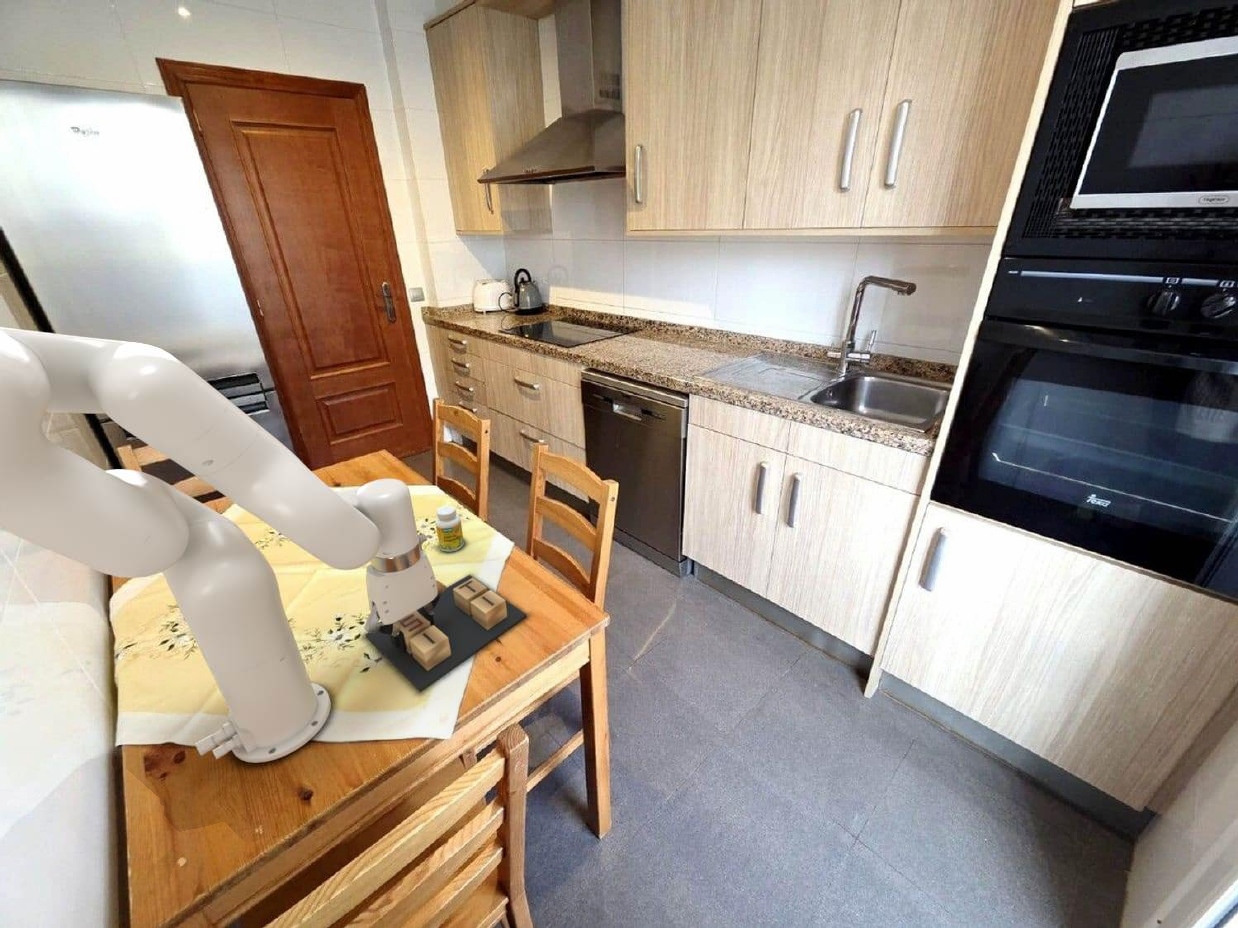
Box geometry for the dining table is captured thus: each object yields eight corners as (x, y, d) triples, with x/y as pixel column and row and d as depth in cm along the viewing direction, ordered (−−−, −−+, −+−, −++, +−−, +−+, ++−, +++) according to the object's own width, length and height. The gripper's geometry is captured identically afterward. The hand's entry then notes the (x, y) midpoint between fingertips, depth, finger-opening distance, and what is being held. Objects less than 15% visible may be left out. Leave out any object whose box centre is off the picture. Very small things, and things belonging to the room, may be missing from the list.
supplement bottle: (460, 536, 118) (454, 501, 114) (467, 547, 114) (462, 511, 110) (436, 543, 116) (430, 507, 111) (443, 555, 112) (437, 518, 107)
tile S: (409, 654, 86) (405, 636, 84) (396, 641, 88) (392, 623, 86) (433, 639, 89) (430, 621, 87) (419, 626, 91) (416, 609, 89)
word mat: (420, 691, 80) (419, 689, 79) (365, 636, 90) (365, 634, 90) (526, 616, 95) (526, 614, 94) (469, 576, 105) (469, 574, 105)
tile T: (469, 616, 94) (466, 599, 92) (455, 605, 96) (452, 588, 95) (489, 603, 97) (487, 586, 95) (475, 593, 100) (472, 576, 98)
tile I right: (487, 630, 91) (485, 612, 89) (472, 618, 93) (470, 601, 92) (507, 616, 94) (505, 599, 92) (492, 605, 96) (490, 589, 95)
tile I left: (427, 671, 82) (423, 652, 81) (413, 657, 85) (408, 639, 83) (451, 654, 86) (448, 636, 84) (436, 641, 88) (433, 624, 86)
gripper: (430, 523, 88) (444, 603, 96) (330, 569, 77) (356, 656, 85) (455, 539, 84) (468, 622, 92) (353, 590, 72) (378, 680, 80)
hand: (414, 637), depth 88 cm, fingers closed on tile S, 4 cm apart
